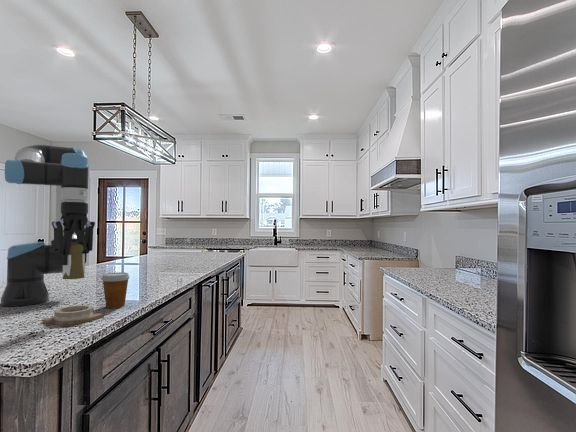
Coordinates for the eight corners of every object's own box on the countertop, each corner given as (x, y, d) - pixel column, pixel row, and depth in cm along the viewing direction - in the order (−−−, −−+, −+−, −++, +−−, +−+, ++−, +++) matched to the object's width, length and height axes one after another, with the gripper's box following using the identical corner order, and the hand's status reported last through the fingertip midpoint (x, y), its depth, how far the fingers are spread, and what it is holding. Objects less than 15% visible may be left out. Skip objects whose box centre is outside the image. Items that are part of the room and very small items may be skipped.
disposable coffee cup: (100, 310, 124) (101, 276, 125) (101, 304, 133) (101, 273, 133) (130, 307, 129) (130, 274, 129) (128, 302, 137) (128, 271, 138)
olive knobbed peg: (88, 276, 115) (89, 243, 115) (75, 279, 109) (76, 244, 109) (71, 276, 115) (72, 243, 116) (57, 279, 109) (58, 244, 110)
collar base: (42, 322, 109) (42, 311, 109) (77, 313, 120) (77, 303, 120) (69, 326, 104) (69, 315, 104) (103, 316, 116) (104, 306, 116)
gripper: (56, 199, 104) (55, 278, 103) (105, 203, 119) (105, 271, 119) (39, 200, 106) (38, 277, 106) (89, 203, 122) (89, 270, 122)
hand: (73, 274), depth 112 cm, fingers closed on olive knobbed peg, 4 cm apart
